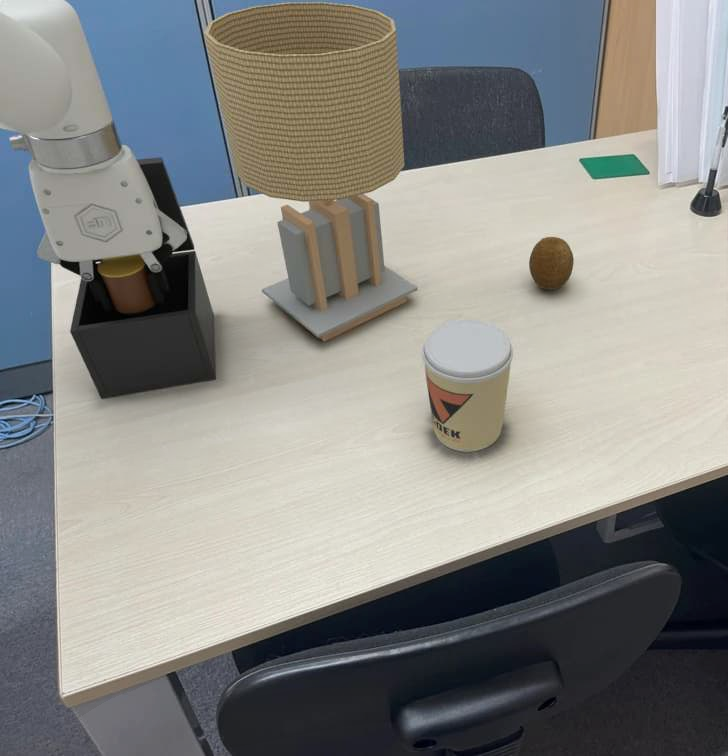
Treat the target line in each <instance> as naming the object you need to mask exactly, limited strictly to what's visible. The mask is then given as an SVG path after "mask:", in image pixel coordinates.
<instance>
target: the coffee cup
mask: <svg viewBox="0 0 728 756" xmlns="http://www.w3.org/2000/svg"><path fill="white" fill-rule="evenodd" d="M421 347H422V348H421V358H422V361H423V363H424V370H425V371H424V372H425V379H426V385H427V393H428V401H429V407H430V414H431V420H432V426H433V427H432V428H433V432H434V434H435V436H436V438H437V440H438V441H439V442H440V443H441V444H442V445H443V446H445V447H447V448H449V449H451V450H453V451H458V452H462V453H463V452H464V453H467V452H468V453H469V452H472V453H473V452H476V451H481V450H484V449H486V448H488V447H490V446H492V445H493V444H494V443H495V442H497V440H498V438H499V437H500V435H501V433H502V429H503V423H504V416H505V410H506V403H507V395H508V389H509V380H510V374H511V364H512V361H513V358H514V357H513V356H514V348H513V343H512V341H510V339H509V337H508V335H507V334H506V333H505V331H504V330H502V329H501V328H500V327H499V326H497V325H496V324H494V323H491V322H489V321H485V320H481V319H474V318H461V319H454V320H450V321H447V322H444V323H442V324H440V325H438V326H437V327H435V328H434V329H432V330H431V331H430V332H429V334H428V335H427V337H426V339H425V340H424V342H423V344H422V346H421Z"/></svg>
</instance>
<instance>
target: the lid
mask: <svg viewBox="0 0 728 756" xmlns="http://www.w3.org/2000/svg"><path fill="white" fill-rule="evenodd" d="M136 160H137V162H138V164H139V166H140V168H141V170H142V172H143V174H144V176H145V178H146V180H147V182H148V185H149V187H150V189H151V192H152V194H153V196H154V199H155V201H156V204H157V206H158V209H159V210H160V211H161V212H162V213H164V214H165V215H166V216H168V217H169V218H170V219H172V220H173V221H174V222H176V223H177V224H178V225H180V226H181V227H183V228H184V229H185V230H186V232H187V239H186V241H185V242H183V243H182V244H181V245H180V246H179V247H178V248H177V249H175V250H174V251H173V253H181V252H189V251H195V243H194V241H193V238H192V236H191V233H190V230H189V227H188V225H187V222H186V219H185V217H184V215H183V211H182V209H181V206H180V203H179V200H178V197H177V195H176V192H175V189H174V187H173V184H172V180H171V178H170V176H169V173H168V171H167V168H166V165H165V162H164V160H163V157H162V156H161V157H150V158H141V159H140V158H139V159H136ZM162 236H163V239H166V238H167V236H168V235H167V234H166V233H164V232H163V231H162ZM102 260H103V259H99V260H96V263H100V262H101V261H102Z"/></svg>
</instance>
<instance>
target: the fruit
mask: <svg viewBox="0 0 728 756" xmlns="http://www.w3.org/2000/svg"><path fill="white" fill-rule="evenodd" d="M573 254H574V253H573V251H572V249H571V247H570V244H568V243H567V241H565V240H564V239H563V238H560V237H557V236H546V237H544V238H543V237H542V239H540V240H539V241H538V242H537V243H536V244H534V247H533V248H532V250H531V254H530V256H529V262H528V268H529V272H530V276H531V278H532V280H533V282H534V283H535V284H536V285H537V286H538V287H539V288H541V289H545V290H557V289H560V288H561V287H563V286H564V285H565V284H566V283H567V282H568V281H569V279H570V278H571V275H572V273H573V268H574V263H575V261H574V259H575V257H574V255H573Z"/></svg>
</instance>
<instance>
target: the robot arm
mask: <svg viewBox="0 0 728 756" xmlns="http://www.w3.org/2000/svg"><path fill="white" fill-rule="evenodd" d="M1 129H2V130H6V131H10V132H15V133H18V134H17V135H10V136H9V143H10V146H11V148H12V149H13V151H16V152H17V151H23V152H27V153H28V154H29V155H31V158H32V159H31V160H30V162H29V163H28V166H27V167H28V174H29V179H30V183H31V187H32V191H33V195H34V198H35V201H36V205H37V208H38V211H39V214H40V217H41V221H42V223H43V227H44V229H45V232H44V235H43V237H42V238H41V241H40V242H39V246H38V249H37V250H36V251H37V252H36V256H37V257H38V259H41V260H43V261H45V262H46V261H47V262H49V263H52V264H54V265H60V267H61V268H63V269H65V270H68V271H69V272H72V273H74V274H76V275H78V276H79V277H80V280H81V279H82V280H84V281H87V282H88V284H89V286H90V289H91V291H92V293H93V296H94V298H95V300H96V302H98V301H101V303H102V305H103V307H104V310H105V311H111V309H113V303H112V301H111V299H110V296H109V294H108V291H107V289H106V286H105V284H104V281H103V279H102V276H101V274H100V273H99V272H98V269H97V267H98V265H97V264H96V263H97V262H96V260H99V259H107V258H115V257H122V256H130V255H137V254H140V256H141V257H142V259H143V260H144V262H145V263H146V264H147V278H148V281H149V284H150V287H151V290H152V292H153V295H154V298H155V301H156V303H158V304H161V303H164V292H168V291H169V286H168V282H167V279H166V276H165V273H164V270H163V267H162V266H163V265H164V263H165V262H166V261H167V259H168V258H169V257H170V256H171V254H174V252H173V251H174V250H175V249H177V248H178V247H179V246H180V245H181V244H182V243H183V242H185V241H186V239H187V232H186V230H185V229H184V228H183V227H181V226H180V225H178V224H177V223H176V222H174V221H173V220H172V219H170V218H169V217H168V216H166V215H165V214H164V213H162V212H161V211H160V210H159V209H158V206H157V204H156V201H155V199H154V196H153V194H152V192H151V189H150V187H149V185H148V182H147V180H146V178H145V176H144V174H143V172H142V170H141V168H140V166H139V164H138V162H137V160H138V159H136V156H135V154H134V153H133V151H132V150H131V148H130V147H129V146H128V145H126V144H122V142H121V139H120V136H119V133H118V130H117V127H116V124H115V121H114V119H113V114H112V112H111V109H110V106H109V103H108V100H107V97H106V93H105V91H104V88H103V85H102V82H101V79H100V76H99V73H98V70H97V67H96V64H95V62H94V58H93V55H92V52H91V49H90V46H89V43H88V39H87V37H86V34H85V31H84V29H83V25H82V23H81V20H80V18H79V15H78V13H77V11H76V10H75V8H74V7H73V6H72V5H71V3H69V2H68V1H67V0H0V130H1ZM162 231H163V232H164V233H166V234H167V235H168V236H167V238H166V239H163V236H162Z"/></svg>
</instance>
